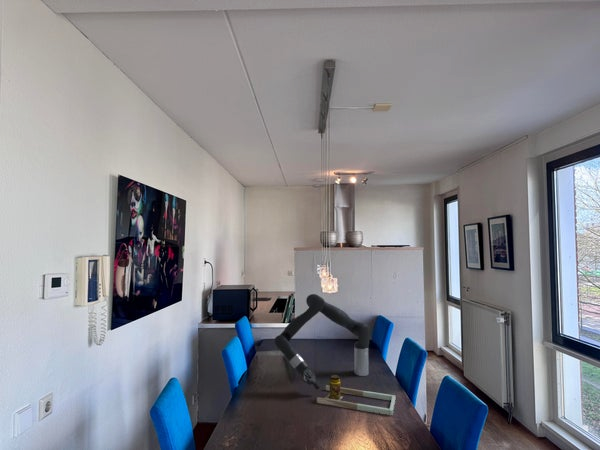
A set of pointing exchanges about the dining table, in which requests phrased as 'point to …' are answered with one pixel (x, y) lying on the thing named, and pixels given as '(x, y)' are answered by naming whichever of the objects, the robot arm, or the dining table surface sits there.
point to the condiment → (335, 388)
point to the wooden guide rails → (338, 402)
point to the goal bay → (374, 408)
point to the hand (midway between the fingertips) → (318, 388)
